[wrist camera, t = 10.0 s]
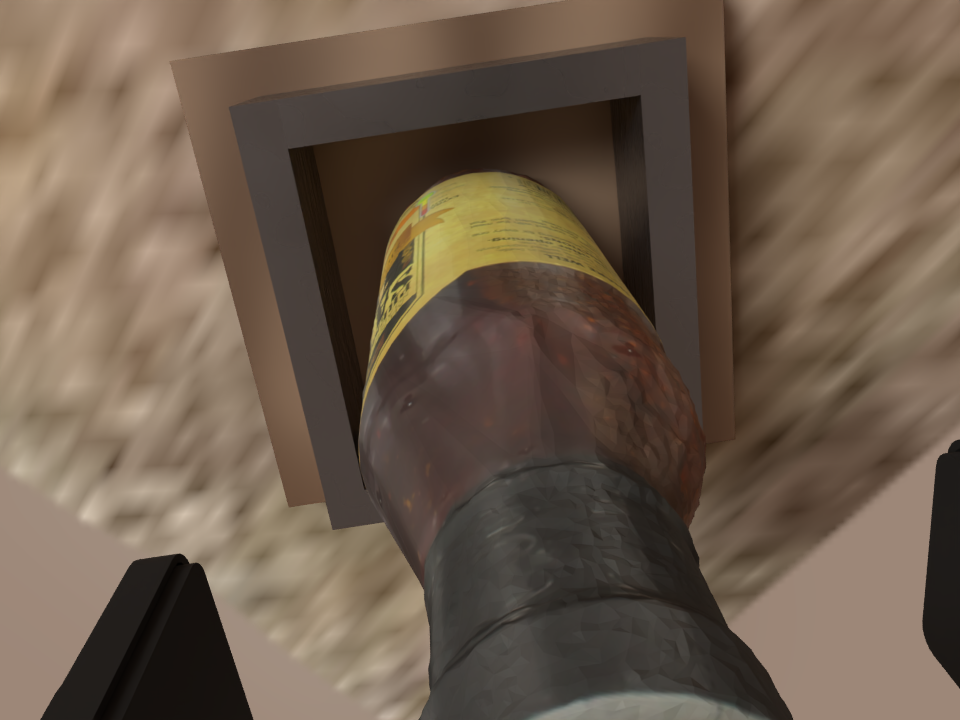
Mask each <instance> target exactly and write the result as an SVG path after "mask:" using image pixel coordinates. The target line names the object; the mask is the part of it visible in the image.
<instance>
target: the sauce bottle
mask: <svg viewBox="0 0 960 720" xmlns="http://www.w3.org/2000/svg"><path fill="white" fill-rule="evenodd" d="M358 446H359V462H360V470H361V474H362V477H363V481H364V484H365V487H366V489H367V492H368V494H369V497H370V499H371V501H372V503H373V504H374V506H375V508H376V509H377V511H378V513H379V514H380V516H381V518H382V519H383V521H384V523H385V524H386V526H387V528H388V529H389V531H390V533H391V534H392V536H393V538H394V539H395V541H396V543H397V544H398V546H399V548H400V549H401V551H402V553H403V554H404V556H405V558H406V559H407V561H408V563H409V564H410V566H411V568H412V569H413V571H414V573H415V574H416V576H417V578H418V580H419V581H420V583H421V585H422V587H423V589H424V600H425V606H426V611H427V616H428V622H429V626H430V663H429V668H428V671H429V686H430V691H431V692H430V696H429V700H428V701H427V703H426V705H425V707H424V708H423V711H422V714H421V717H420V718H419V720H793V718H792V715H791V713H790V711H789V709H788V708H787V706H786V704H785V702H784V701H783V700H782V698H781V697H780V695H779V693H778V691H777V689H776V688H775V686H774V683H773V682H772V679H771V677H770V675H769V674H768V672H767V670H766V669H765V668H764V667H763V666H762V664H761V663H760V662H759V660H758V659H757V658H756V657H755V655H754V653H753V652H752V650H751V649H750V648H749V647H748V646H747V645H746V644H745V643H744V642H743V641H742V640H741V639H740V638H739V637H738V636H737V635H736V634H734V633H733V632H732V631H731V630H730V629H729V628H728V626H727V624H726V622H725V620H724V617H723V615H722V613H721V611H720V609H719V607H718V605H717V603H716V601H715V599H714V597H713V595H712V594H711V592H710V590H709V587H708V585H707V583H706V581H705V579H704V577H703V575H702V573H701V571H700V569H699V556H698V554H697V552H696V550H695V547H694V544H693V540H692V538H691V535H690V533H689V530H688V529H689V525H690V524H691V522H692V519H693V517H694V513H695V511H696V509H697V508H698V506H699V498H700V495H701V487H702V481H703V475H704V472H705V469H706V458H705V449H706V436H705V434H704V432H703V430H702V428H701V426H700V423H699V420H698V415H697V414H696V411H695V405H694V403H693V401H692V399H691V398H690V392H689V390H688V388H687V387H686V385H685V384H684V383H683V381H682V378H681V376H680V373H679V371H678V370H677V369H676V368H675V367H674V366H673V364H672V363H671V360H670V358H668V357H667V356H666V353H665V350H664V348H663V345H662V342H661V340H660V338H659V336H658V334H657V332H656V330H655V328H654V327H653V325H652V323H651V322H650V320H649V319H648V318H647V316H646V315H645V313H644V312H643V310H642V309H641V307H640V306H639V305H638V303H637V302H636V300H635V299H634V297H633V296H632V295H631V293H630V292H629V290H628V289H627V288H626V286H625V285H624V283H623V282H622V281H621V279H620V278H619V276H618V275H617V274H616V272H615V271H614V269H613V268H612V266H611V265H610V264H609V262H608V261H607V259H606V258H605V256H604V255H603V253H602V252H601V250H600V249H599V247H598V246H597V245H596V243H595V242H594V240H593V239H592V238H591V236H590V235H589V233H588V232H587V231H586V229H585V228H584V226H583V225H582V224H581V222H580V221H579V220H578V219H577V217H576V216H575V214H574V213H573V212H572V210H571V209H570V208H569V207H568V206H567V204H566V203H565V202H564V201H563V200H562V199H561V198H560V197H559V196H558V195H556V194H555V193H554V192H552V191H551V190H549V189H547V188H545V187H544V186H543V185H542V184H541V183H540V182H538V181H536V180H533V179H531V178H530V177H528V176H527V175H521V174H516V173H514V172H508V171H503V170H497V169H485V168H477V169H465V170H461V171H459V172H456V173H453V174H450V175H447V176H445V177H443V178H441V179H440V180H439V181H437V182H436V183H434V184H433V185H432V186H430V187H429V188H427V189H426V191H425V192H424V193H422V194H421V195H420V196H419V198H418V199H417V200H416V201H414V202H413V203H411V204H410V205H409V206H408V207H407V208H406V210H405V212H404V213H403V214H402V216H401V217H400V219H399V221H398V223H397V224H396V226H395V228H394V230H393V232H392V234H391V236H390V239H389V242H388V245H387V249H386V253H385V258H384V264H383V271H382V277H381V284H380V291H379V296H378V300H377V309H376V314H375V321H374V326H373V330H372V337H371V341H370V354H369V363H368V369H367V375H366V384H365V387H364V391H363V405H362V412H361V419H360V429H359V439H358Z"/></svg>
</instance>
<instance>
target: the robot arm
mask: <svg viewBox="0 0 960 720" xmlns="http://www.w3.org/2000/svg"><path fill="white" fill-rule="evenodd" d="M923 632H924V636H925V639H926V642H927V644H928V647H929V649H930V650H931V652H932V653H933V655H934V656H935V657H936V659H937V660H938V661H939V663H940V664H941V665H942V667H943V668H944V669H945V670H946V672H947V673H948V674H949V675H950V677H951V678H952V679H953V680H954V682H955V683H956V684H957V686H958V687H959V688H960V440H956V441H954V442H953V443H952V444H951V446H950V447H949V449H948V453H945V454H942V455H940V457H939V458H938V460H937V464H936V474H935V484H934V495H933V507H932V519H931V530H930V541H929V552H928V565H927V575H926V587H925V598H924V610H923ZM41 720H253V717H252V714H251V711H250V708H249V705H248V702H247V699H246V696H245V693H244V690H243V687H242V684H241V681H240V678H239V675H238V672H237V669H236V665H235V663H234V659H233V656H232V653H231V650H230V647H229V645H228V641H227V638H226V635H225V632H224V629H223V626H222V623H221V620H220V617H219V614H218V611H217V608H216V605H215V602H214V599H213V596H212V593H211V590H210V587H209V584H208V581H207V578H206V575H205V572H204V570H203V567H202V566H201V565H200V564H199V563H191V564H189V562H188V560H187V559H186V557H185V556H184V555H182V554H173V555H166V556H160V557H153V558H146V559H139V560H136V561H134V562H133V563H132V564H131V565H130V566H129V568H128V570H127V571H126V573H125V575H124V577H123V578H122V580H121V582H120V584H119V585H118V587H117V589H116V591H115V592H114V594H113V596H112V598H111V599H110V602H109V603H108V605H107V607H106V608H105V610H104V612H103V613H102V616H101V617H100V619H99V620H98V622H97V624H96V626H95V628H94V629H93V631H92V633H91V635H90V637H89V638H88V640H87V642H86V643H85V645H84V647H83V649H82V650H81V652H80V654H79V656H78V657H77V659H76V661H75V663H74V665H73V666H72V668H71V670H70V671H69V674H68V675H67V677H66V678H65V680H64V682H63V684H62V685H61V687H60V688H59V689H58V690H57V692H56V693H55V695H54V697H53V699H52V700H51V702H50V704H49V706H48V707H47V709H46V711H45V712H44V714H43V716H42V718H41Z"/></svg>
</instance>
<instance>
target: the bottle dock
mask: <svg viewBox="0 0 960 720" xmlns="http://www.w3.org/2000/svg"><path fill="white" fill-rule="evenodd" d="M170 64H171V67H172V71H173V75H174V79H175V82H176V86H177V90H178V94H179V97H180V101H181V105H182V109H183V112H184V116H185V120H186V124H187V127H188V131H189V135H190V139H191V142H192V146H193V150H194V154H195V157H196V161H197V165H198V169H199V172H200V176H201V180H202V184H203V187H204V191H205V195H206V199H207V202H208V206H209V210H210V214H211V217H212V221H213V225H214V229H215V232H216V236H217V240H218V244H219V247H220V251H221V255H222V259H223V262H224V266H225V270H226V274H227V277H228V281H229V285H230V289H231V292H232V296H233V300H234V304H235V307H236V311H237V315H238V319H239V322H240V326H241V330H242V334H243V337H244V341H245V345H246V349H247V352H248V356H249V360H250V364H251V367H252V371H253V375H254V379H255V382H256V386H257V390H258V394H259V397H260V401H261V405H262V408H263V412H264V416H265V420H266V423H267V427H268V431H269V435H270V438H271V442H272V446H273V450H274V453H275V457H276V461H277V465H278V468H279V472H280V476H281V480H282V483H283V487H284V491H285V495H286V498H287V502H288V506H289V507H294V506H300V505H307V504H314V503H320V502H326V505H327V509H328V513H329V517H330V521H331V525H332V529H333V530H335V529H342V528H348V527H355V526H362V525H368V524H375V523H381V522H384V521H383V519H382V518H381V516H380V514H379V513H378V511H377V509H376V508H375V506H374V504H373V503H372V501H371V499H370V497H369V494H368V492H367V489H366V487H365V484H364V481H363V477H362V474H361V470H360V462H359V446H358V439H359V429H360V419H361V412H362V405H363V391H364V387H365V384H366V375H367V369H368V363H369V354H370V341H371V337H372V330H373V326H374V321H375V314H376V309H377V300H378V296H379V291H380V284H381V277H382V271H383V264H384V258H385V253H386V249H387V245H388V242H389V239H390V236H391V234H392V232H393V230H394V228H395V226H396V224H397V223H398V221H399V219H400V217H401V216H402V214H403V213H404V212H405V210H406V208H407V207H408V206H409V205H410V204H411V203H413V202H414V201H416V200H417V199H418V198H419V196H420V195H421V194H422V193H424V192H425V191H426V189H427V188H429V187H430V186H432V185H433V184H434V183H436V182H437V181H439V180H440V179H441V178H443V177H445V176H447V175H450V174H453V173H456V172H459V171H461V170H465V169H477V168H485V169H497V170H503V171H508V172H514V173H516V174H521V175H527V176H528V177H530V178H531V179H533V180H536V181H538V182H540V183H541V184H542V185H543V186H544V187H545V188H547V189H549V190H551V191H552V192H554V193H555V194H556V195H558V196H559V197H560V198H561V199H562V200H563V201H564V202H565V203H566V204H567V206H568V207H569V208H570V209H571V210H572V212H573V213H574V214H575V216H576V217H577V219H578V220H579V221H580V222H581V224H582V225H583V226H584V228H585V229H586V231H587V232H588V233H589V235H590V236H591V238H592V239H593V240H594V242H595V243H596V245H597V246H598V247H599V249H600V250H601V252H602V253H603V255H604V256H605V258H606V259H607V261H608V262H609V264H610V265H611V266H612V268H613V269H614V271H615V272H616V274H617V275H618V276H619V278H620V279H621V281H622V282H623V283H624V285H625V286H626V288H627V289H628V290H629V292H630V293H631V295H632V296H633V297H634V299H635V300H636V302H637V303H638V305H639V306H640V307H641V309H642V310H643V312H644V313H645V315H646V316H647V318H648V319H649V320H650V322H651V323H652V325H653V327H654V328H655V330H656V332H657V334H658V336H659V338H660V340H661V342H662V345H663V348H664V350H665V353H666V356H667V357H668V358H670V360H671V363H672V364H673V366H674V367H675V368H676V369H677V370H678V371H679V373H680V376H681V378H682V381H683V383H684V384H685V385H686V387H687V388H688V390H689V392H690V398H691V399H692V401H693V403H694V405H695V411H696V414H697V415H698V420H699V423H700V426H701V428H702V430H703V432H704V434H705V436H706V444H707V443H714V442H720V441H727V440H734V439H735V413H734V376H733V339H732V302H731V265H730V228H729V191H728V154H727V118H726V81H725V44H724V7H723V0H567V1H561V2H554V3H548V4H541V5H534V6H528V7H521V8H515V9H508V10H502V11H495V12H489V13H482V14H475V15H469V16H462V17H456V18H449V19H443V20H436V21H430V22H423V23H416V24H410V25H403V26H397V27H390V28H384V29H377V30H371V31H364V32H357V33H351V34H344V35H338V36H331V37H325V38H318V39H312V40H305V41H298V42H292V43H285V44H279V45H272V46H266V47H259V48H253V49H246V50H239V51H233V52H226V53H220V54H213V55H207V56H200V57H194V58H187V59H180V60H174V61H170ZM704 473H705V472H704Z"/></svg>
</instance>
